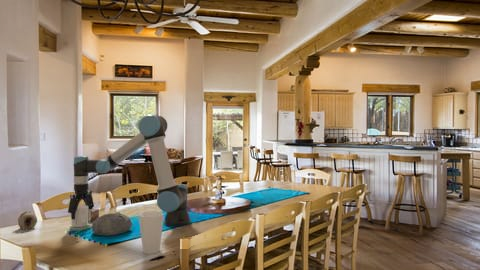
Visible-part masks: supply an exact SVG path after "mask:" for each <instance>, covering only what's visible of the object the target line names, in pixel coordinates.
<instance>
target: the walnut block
mask: <svg viewBox="0 0 480 270" xmlns="http://www.w3.org/2000/svg"><path fill="white" fill-rule="evenodd" d="M98 217H100V210H99V208H93V209H91V220H90V221H95V220H96V219H97V218H98ZM88 221H89V220H88Z"/></svg>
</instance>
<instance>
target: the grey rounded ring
mask: <svg viewBox="0 0 480 270" xmlns="http://www.w3.org/2000/svg"><path fill="white" fill-rule="evenodd" d="M37 218H38V217H37V216H36V214H35V213H32V211H24V212H22V213H21V214H20V215H19V216H18V218H17V222H18V227H19V229H21V230H25V231H26V229H27V230H31V229H33V228H35V227H36V225H37V223H38V219H37Z"/></svg>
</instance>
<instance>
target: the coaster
mask: <svg viewBox="0 0 480 270" xmlns="http://www.w3.org/2000/svg"><path fill="white" fill-rule="evenodd" d="M92 224H93V223H88V224H87V226H83V227H73V226H72V225H71V226H70V227H69V229H70V230H73V231H81V230H82V231H83V230H87V229H92Z"/></svg>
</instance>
